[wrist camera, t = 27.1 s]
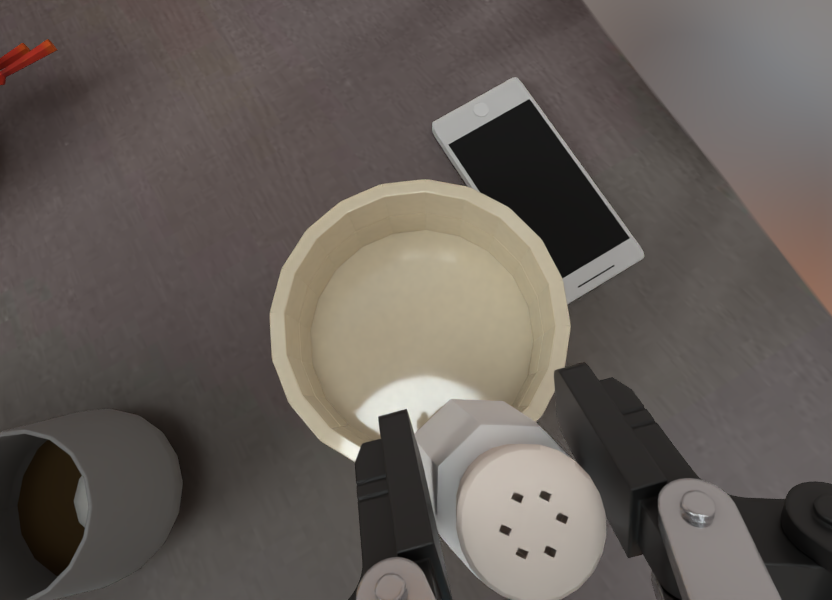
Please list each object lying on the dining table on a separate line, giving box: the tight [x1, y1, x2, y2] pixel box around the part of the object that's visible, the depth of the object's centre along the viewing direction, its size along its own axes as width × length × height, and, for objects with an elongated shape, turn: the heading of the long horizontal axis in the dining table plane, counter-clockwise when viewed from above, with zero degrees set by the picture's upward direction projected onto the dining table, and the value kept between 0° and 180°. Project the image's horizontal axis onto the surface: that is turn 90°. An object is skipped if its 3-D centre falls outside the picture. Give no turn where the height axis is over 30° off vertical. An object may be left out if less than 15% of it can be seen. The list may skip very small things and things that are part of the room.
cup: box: [0, 408, 183, 600], centre depth 28 cm, size 10×9×10 cm
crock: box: [270, 179, 571, 462], centre depth 31 cm, size 16×16×7 cm
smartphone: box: [432, 77, 644, 304], centre depth 36 cm, size 7×15×1 cm, turn 31°
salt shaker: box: [415, 399, 607, 600], centre depth 15 cm, size 5×5×11 cm
